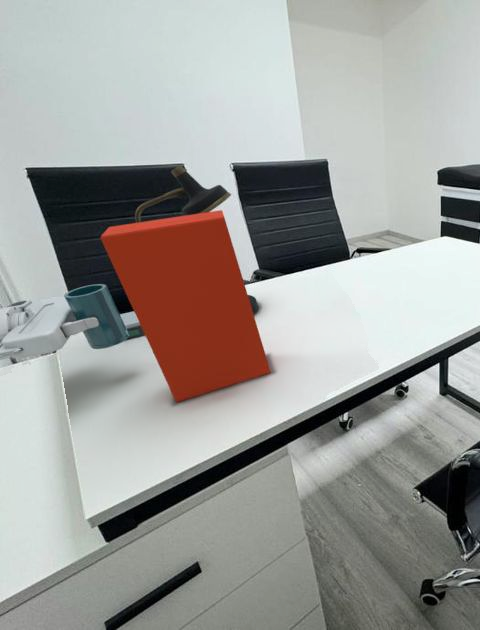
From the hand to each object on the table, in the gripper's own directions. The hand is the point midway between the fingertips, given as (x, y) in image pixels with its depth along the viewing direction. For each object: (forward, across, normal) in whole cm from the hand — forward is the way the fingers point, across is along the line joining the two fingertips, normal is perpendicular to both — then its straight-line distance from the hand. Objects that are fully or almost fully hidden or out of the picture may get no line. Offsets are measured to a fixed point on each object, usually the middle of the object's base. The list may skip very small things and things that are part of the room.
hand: (102, 312), depth 75 cm
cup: (-1, 0, +6) cm, 6 cm away
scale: (-3, +26, +15) cm, 30 cm away
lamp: (+18, +21, +15) cm, 32 cm away
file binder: (+17, -12, +15) cm, 26 cm away
